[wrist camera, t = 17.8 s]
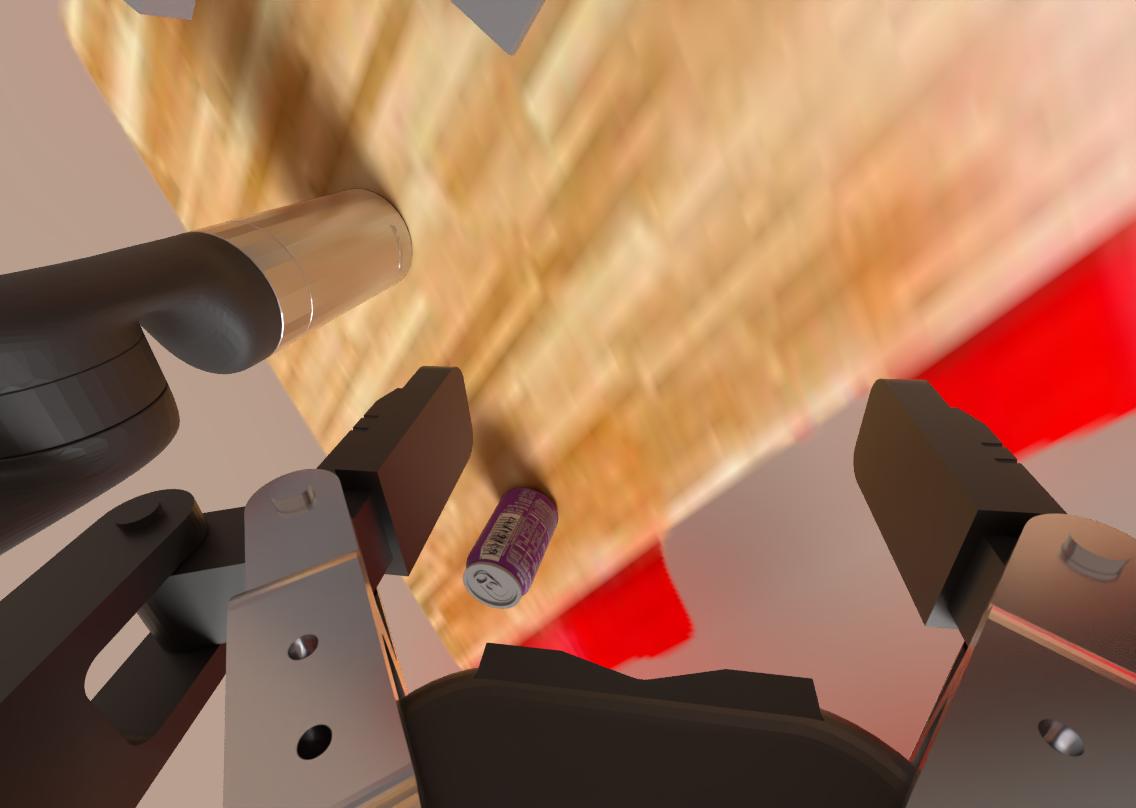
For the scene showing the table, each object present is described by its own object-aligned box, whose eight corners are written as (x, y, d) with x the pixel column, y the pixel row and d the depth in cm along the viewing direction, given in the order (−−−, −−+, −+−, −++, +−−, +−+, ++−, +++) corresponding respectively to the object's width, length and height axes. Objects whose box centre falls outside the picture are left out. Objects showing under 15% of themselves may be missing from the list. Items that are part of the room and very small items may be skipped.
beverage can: (492, 504, 64) (446, 581, 54) (523, 473, 60) (480, 549, 50) (537, 539, 65) (501, 621, 55) (572, 511, 61) (539, 593, 51)
